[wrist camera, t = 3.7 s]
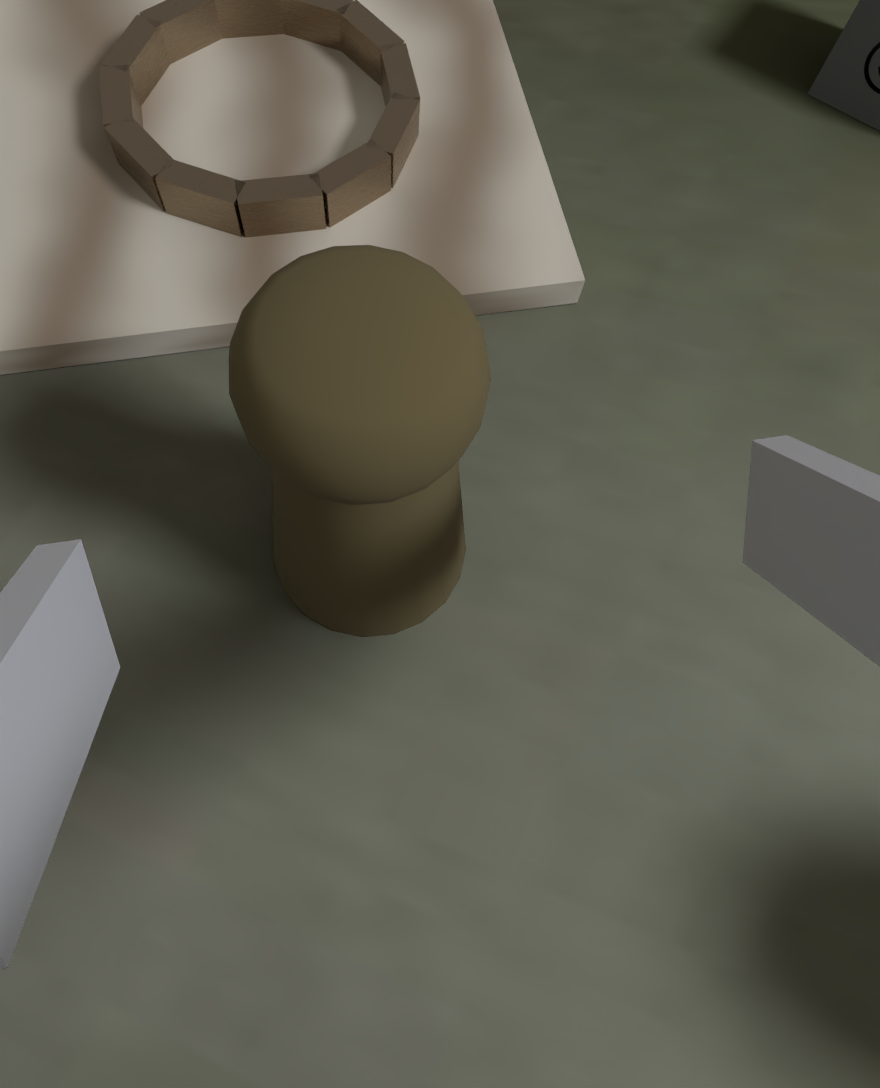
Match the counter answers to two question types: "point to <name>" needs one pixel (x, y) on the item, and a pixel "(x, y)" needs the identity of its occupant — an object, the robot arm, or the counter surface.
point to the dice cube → (854, 67)
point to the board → (253, 177)
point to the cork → (362, 430)
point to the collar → (270, 203)
